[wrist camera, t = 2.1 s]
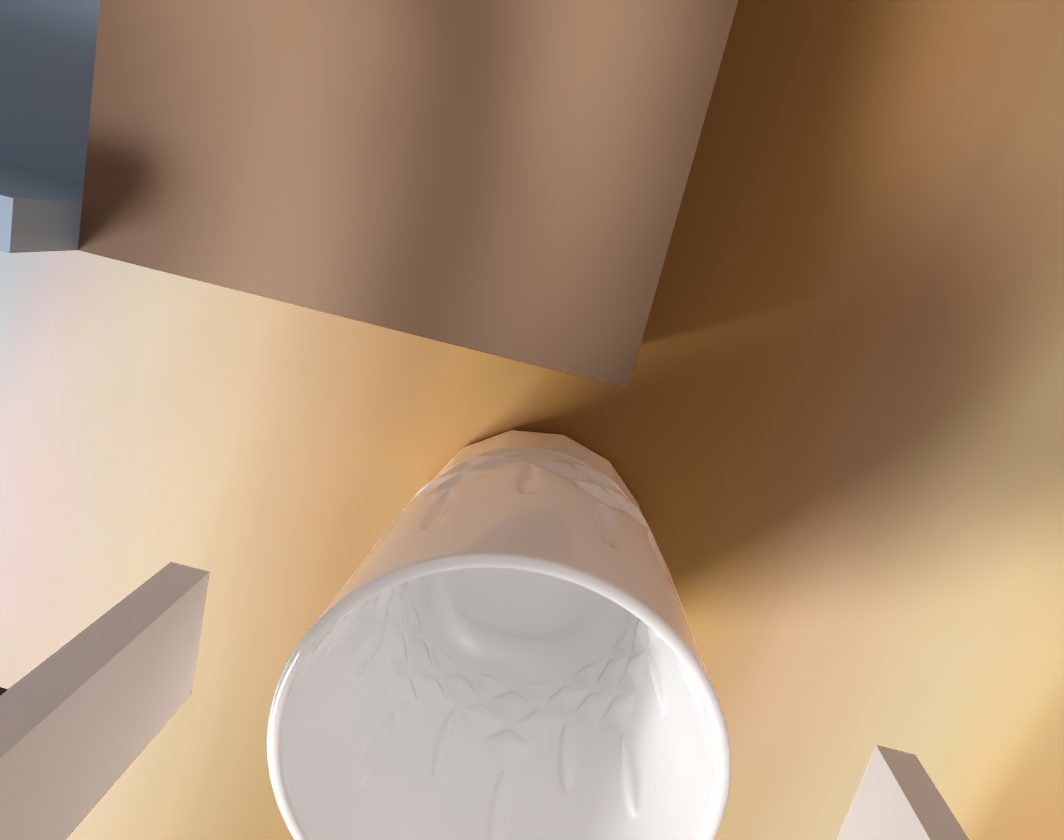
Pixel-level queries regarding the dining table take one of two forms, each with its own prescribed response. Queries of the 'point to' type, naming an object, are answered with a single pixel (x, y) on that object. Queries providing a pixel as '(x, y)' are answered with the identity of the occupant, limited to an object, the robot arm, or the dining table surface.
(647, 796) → the white cup
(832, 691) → the dining table surface
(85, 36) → the box
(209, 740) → the dining table surface
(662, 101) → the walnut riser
